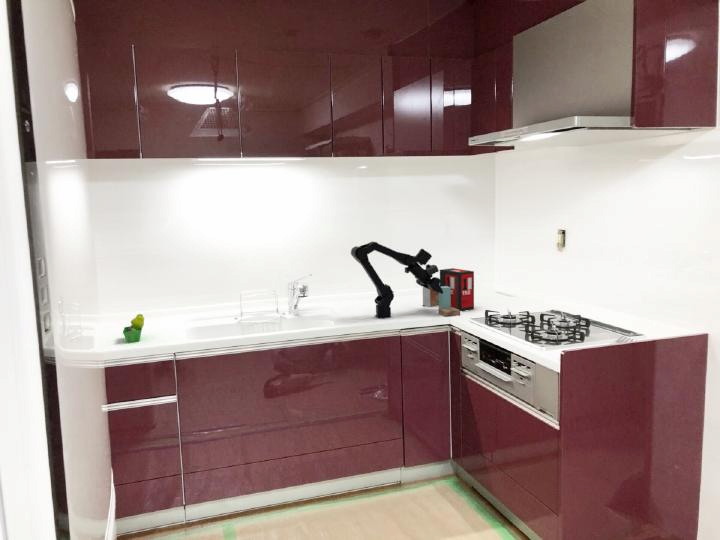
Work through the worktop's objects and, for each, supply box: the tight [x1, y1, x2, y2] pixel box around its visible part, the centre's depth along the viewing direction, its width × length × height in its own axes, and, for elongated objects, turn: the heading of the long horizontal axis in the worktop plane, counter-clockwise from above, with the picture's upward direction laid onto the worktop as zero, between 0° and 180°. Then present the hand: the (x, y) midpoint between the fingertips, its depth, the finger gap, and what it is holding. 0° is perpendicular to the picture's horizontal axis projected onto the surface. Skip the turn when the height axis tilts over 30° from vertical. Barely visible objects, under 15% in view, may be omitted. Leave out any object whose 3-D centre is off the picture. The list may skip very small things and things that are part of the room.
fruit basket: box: [122, 313, 145, 344], centre depth 259 cm, size 11×9×11 cm
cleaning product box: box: [439, 267, 475, 312], centre depth 308 cm, size 16×9×20 cm, turn 32°
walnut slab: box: [437, 308, 461, 318], centre depth 294 cm, size 8×8×2 cm
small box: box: [422, 287, 439, 308], centre depth 317 cm, size 8×6×10 cm
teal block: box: [438, 286, 451, 309], centre depth 302 cm, size 4×4×12 cm
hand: (438, 291), depth 301 cm, fingers open, 9 cm apart
